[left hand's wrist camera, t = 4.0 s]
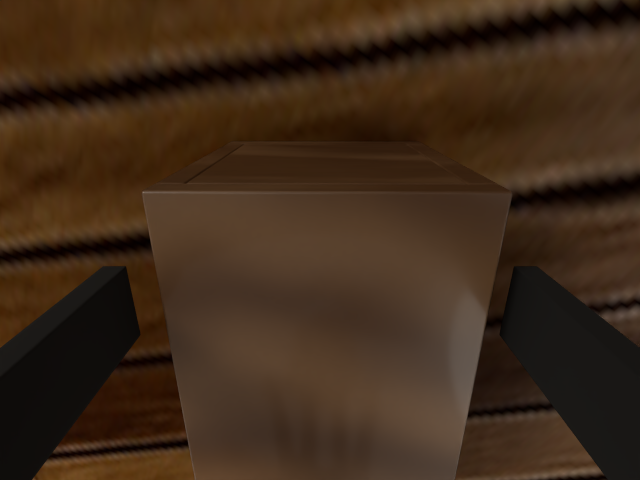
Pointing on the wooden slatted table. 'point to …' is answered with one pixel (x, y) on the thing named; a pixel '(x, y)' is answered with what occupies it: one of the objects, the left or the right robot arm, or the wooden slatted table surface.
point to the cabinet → (326, 306)
